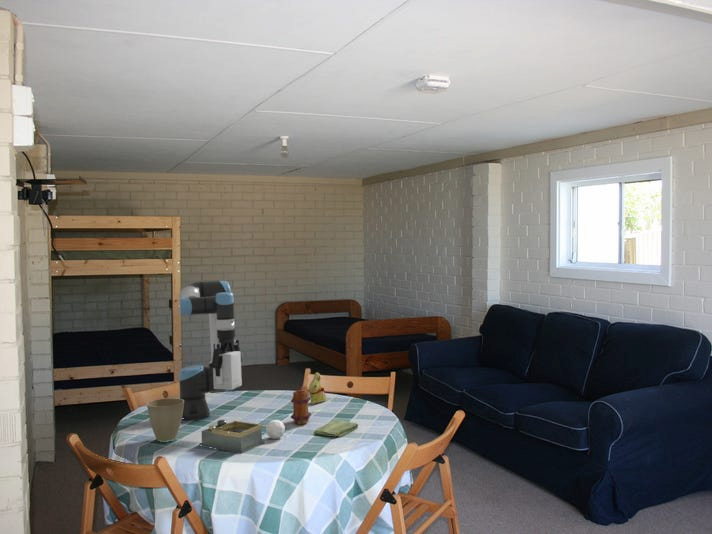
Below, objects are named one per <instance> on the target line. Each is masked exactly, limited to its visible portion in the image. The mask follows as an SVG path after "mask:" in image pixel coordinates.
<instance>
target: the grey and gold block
mask: <svg viewBox="0 0 712 534" xmlns="http://www.w3.org/2000/svg"><path fill="white" fill-rule="evenodd" d="M216 423H217V424H216V425H209V426H208V428H206V429H204V430H202V431H201V442H200V443H199V444H198V446H199V445H202V446H206V447H212V448H216V449H215V450H218V449H222V450H221V451H224V450H227V451H226V452H230V451H232V452H231V453H236V452H237V453H236V454H244V453H246V452H248V451H251V450H252V449H255V448H257V447H259V446H262V445H264V444H265V443H266V442H265V441H266V440H264V439H262V438H263V437H262V436H263V435H262V433H263V432H262V429H263V424H260V423H255V422H246V421H241V420H240V421H239V420H233V421H231V422H228V423H227V420H226V419H219V420H217V421H216ZM206 447H205V448H206ZM212 448H211V449H212Z"/></svg>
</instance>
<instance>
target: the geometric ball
mask: <svg viewBox="0 0 712 534" xmlns="http://www.w3.org/2000/svg"><path fill="white" fill-rule="evenodd" d="M265 430H266V431H265V433H266V435H267V437H269V438H270V439H273V440H278V439H280V438H282V437H283V436H284V434H285V430H286V426H285V424H284V423H283V422H282V421H281V420H280V419H272V420H271V421H269V422H268V423H267V424H266V427H265Z"/></svg>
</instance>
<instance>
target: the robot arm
mask: <svg viewBox="0 0 712 534" xmlns="http://www.w3.org/2000/svg"><path fill="white" fill-rule="evenodd" d="M178 296H179V297H178V298H179V314H180V315H181V316H193V315H208V320H209V338H210V353H211V354H210V355H211V357H210V358H211V360H210V362H209V363H208V367H206V366H205V365H204V364H194V365H189V366H185V367H183V368H181V369H180V370H179V373H178V375H179V377H178V381H179V399H182V400H184V407H183V414H182V418H184V419H194V420H199V418H201V419H205V418H208V417H210V416H211V415H210V414H211V410H210V407H209V405H208V402H207V398H206V393H216V392H227V391H228V392H229V391H234V389H232V390H230V389H214V379H213V368H215V371H216V381H217V384H223V376H222V368H221V365H222V362H223V360H222V356H219V355H220V354H225V353H226V352H227V351H232V352H233V351H240V354H241V355H242V353H241V350H240V340H239V339H235V338H236V330H235V325H236V324H235V299H234V293H233V292H232V290H231V286H230V283H229V282H228V281H226V280H209V281H205V280H204V281H195V282H190V283H188V284H186V285H185V286H183V287H182V288H181V289H180V291H179V295H178ZM212 354H213V358H212ZM242 362H243V358H242V357H241V363H242ZM214 364H215V365H214ZM218 365H219V366H218ZM204 417H205V418H204Z"/></svg>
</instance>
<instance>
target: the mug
mask: <svg viewBox="0 0 712 534" xmlns="http://www.w3.org/2000/svg"><path fill="white" fill-rule="evenodd" d="M292 396H293V397H292V398H291V400H290V402H291V403H292V404H293V413H292V415H291V416H290V418H291V419H292V420H293V422H294V424H295V425H306V424H307V423H309V421H310V420H309V419H310V418H311V415H312V413H311V412H309V401H311V397H310V393H309V387H307V385H302V386H301V388H300V390H295V391H293V394H292Z"/></svg>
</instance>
